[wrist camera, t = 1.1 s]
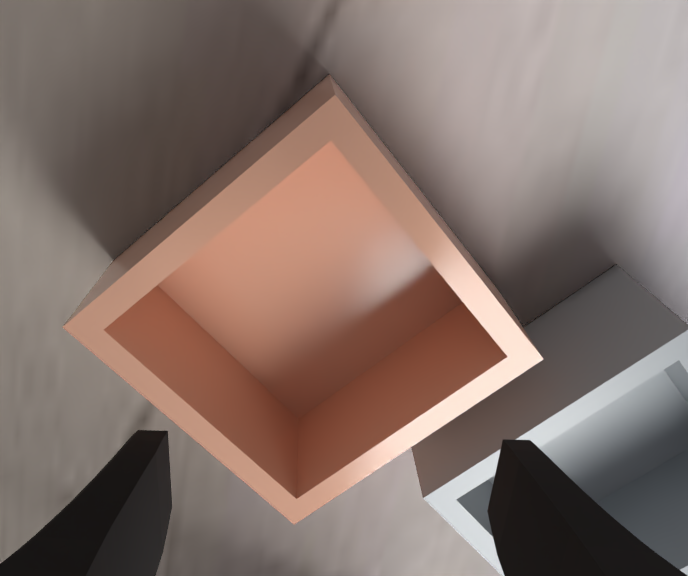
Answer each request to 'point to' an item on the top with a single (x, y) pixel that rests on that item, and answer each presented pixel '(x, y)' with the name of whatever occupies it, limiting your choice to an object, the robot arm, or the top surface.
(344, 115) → the terracotta bin
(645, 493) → the grey bin
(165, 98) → the top surface
